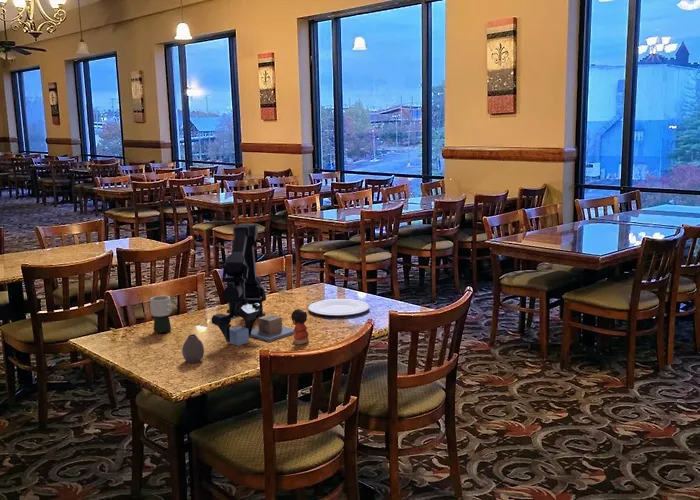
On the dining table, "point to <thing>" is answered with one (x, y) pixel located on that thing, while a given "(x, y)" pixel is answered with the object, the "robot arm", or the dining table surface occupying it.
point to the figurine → (300, 326)
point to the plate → (338, 307)
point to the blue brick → (239, 335)
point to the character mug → (161, 313)
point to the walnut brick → (270, 324)
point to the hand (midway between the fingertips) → (238, 338)
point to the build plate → (273, 336)
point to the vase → (193, 349)
